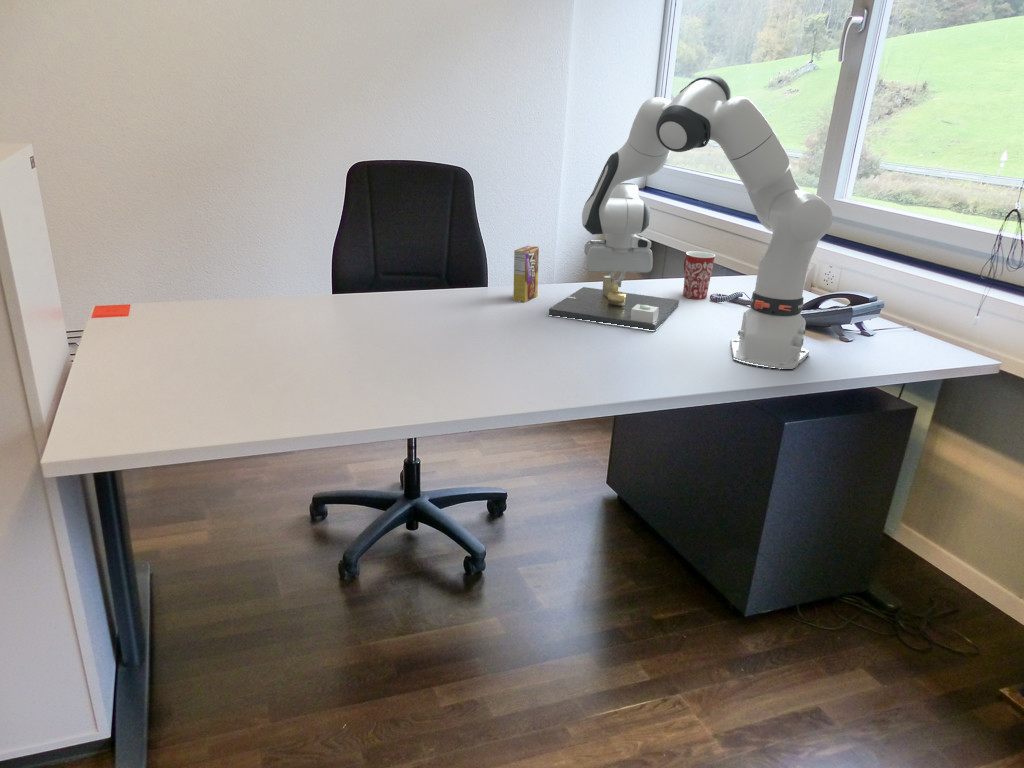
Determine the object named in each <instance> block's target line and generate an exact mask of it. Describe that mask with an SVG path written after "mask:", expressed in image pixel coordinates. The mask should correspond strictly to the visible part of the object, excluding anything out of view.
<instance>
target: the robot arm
mask: <svg viewBox="0 0 1024 768" xmlns="http://www.w3.org/2000/svg"><path fill="white" fill-rule="evenodd" d="M631 125H632V126H631V128H630V131H629V135H628V138H627V140H626V141H625V143H624V144H623V145H622V147H620V148H619V149H618V150H617V151H616V152H613V153H612V154H610V156H609V157H608V159H607V161H606V163H604V166H603V168H602V170H601V172H600V174H599V176H598V178H597V181H596V183H595V185H594V187H593V190H592V192H591V194H590V195H589V197H588V199H587V200H586V202H585V204H584V206H583V208H582V213H581V222H582V226H583V228H584V229H585V231H587V232H588V233H589V234H591V235H592V236H593V235H604V239H590V240H589V241H587V242H586V243H585V244H584V254H585V255H584V258H583V259H584V260H583V264H582V265H583V266H582V267H583V269H584V270H585V271H586V272H587V273H608V276H610V278H611V279H612V280H613V281H614V282H616V283H617V284H618V288H621V287H622V282H623V280H624V279H625V278H626V274H627V273H650V272H651V271H652V269H653V262H654V259H653V252H652V250H651V249H650V248H651V247H652V241H651V240H650V239H648V238H646V237H643V236H642V235H638V234H642V233H643V232H644V231H645V230H646V229H647V228H648V227H649V224H650V215H651V207H650V206H649V204H648V203H647V202H646V201H645V200H643V199H641V197H640V195H639V194H640V193H639V186H638V185H637V184H636V183H631V182H630V183H629V182H626V181H630V180H634V179H639V178H644V177H648V176H651V175H653V174H656V173H657V172H659V171H661V169H663V168H664V167H665V165H666V163H667V162H668V161H669V158H670V155H671V152H675V153H684V152H688V151H690V150H693V149H698V148H699V149H700V148H704V147H706V146H707V145H708V144H709V142H710V140H711V141H714V142H716V143H717V144H718V146H720V148H721V149H722V151H723V152H724V154H725V157H726V158H727V159H728V161H729V163H730V164H731V166H732V168H733V169H734V171H735V172H736V174H737V176H738V178H739V179H740V181H741V182H742V184H743V186H744V188H745V189H746V191H747V193H748V196H749V199H750V201H751V204H752V206H753V208H754V211H755V215H756V217H757V219H758V221H759V222H760V223H761V225H762V226H763V227H764V228H765V229H766V230H767V231H769V232H772V236H771V239H770V242H769V245H768V246H767V249H766V252H765V253H764V254H763V256H762V257H761V258H760V260H759V262H758V268H757V275H756V281H755V287H754V290H753V292H752V295H751V297H750V305H749V306H750V308H749V309H747V310H745V311H744V312H743V315H742V320H741V326H740V329H739V330H738V333H737V334H738V336H739V338H731V339H730V341H729V344H730V343H731V346H730V349H731V348H732V352H731V355H732V354H733V358H735V359H738V360H741V361H745V362H749V363H753V364H758V365H764V366H768V367H775V368H781V369H782V368H783V369H793V368H795V367H796V366H797V365H798V364H799V363H800V364H801V363H803V361H805V359H807V358H806V357H807V356H808V355H810V351H809V350H808V349H806V348H804V347H803V345H804V341H805V339H804V336H805V334H806V324H807V322H806V321H807V320H805V318H804V317H803V316H802V314H801V312H802V311H803V306H804V299H805V298H804V296H803V294H804V289H805V284H806V279H807V278H806V277H807V273H808V270H809V269H808V268H809V264H810V262H811V260H812V257H813V255H814V252H815V250H816V248H817V246H818V244H819V242H820V240H821V239H822V238H823V237H824V236H826V234H827V233H828V232H829V230H830V228H831V226H832V223H833V212H832V209H831V207H830V206H829V205H828V203H827V202H825V200H824V199H823V198H822V197H821V196H818V195H817V194H815V193H810V192H807V191H804V190H803V189H802V188H801V187H799V185H798V183H797V182H796V180H795V177H794V175H793V172H792V169H791V159H790V157H789V155H788V153H787V150H785V148H784V146H783V145H782V143H781V141H780V139H779V138H778V136H777V134H776V132H775V131H774V129H773V128H772V126H771V124H770V123H769V121H768V120H767V119H766V117H765V116H764V114H763V113H762V112H761V111H760V110H759V109H758V107H757V105H755V104H754V103H753V102H752V101H751V99H749V98H748V97H745V96H735V97H732V92H731V88H730V86H729V84H728V82H727V81H726V80H725V78H723V77H721V76H719V75H716V74H703V75H702V76H699V77H697V78H695V79H694V80H692V81H691V82H689V84H687V85H686V86H685V87H684V88H682V89H681V90H680V91H679V93H678V94H677V95H676V96H675V97H674V98H673V99H667V98H664V97H661V96H658V97H657V96H655V97H651V98H649V99H646V100H645V101H644V102H643V103H642V104H641V106H640V108H639V109H638V111H637V114H636V115H635V117H634V120H633V122H632V124H631ZM616 273H619V275H620V276H619V277H618V278H617V279H615V277H614V276H616ZM808 357H809V356H808ZM733 358H732V359H733ZM800 364H799V365H800ZM799 365H798V366H799ZM798 366H797V367H798ZM797 367H796V368H797ZM796 368H795V369H796ZM793 370H794V369H793Z"/></svg>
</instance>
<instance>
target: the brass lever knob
mask: <svg viewBox="0 0 1024 768" xmlns="http://www.w3.org/2000/svg"><path fill="white" fill-rule="evenodd" d="M626 293H627V292H623V291H619V287H618V284H617V283H616V282H614V281H613V280H612V279H611V278H610V276H609V275H603V280H602V294H604V295H605V296H606V297H607V298H608V304H610V305H614V306H623V305H625V300H626Z"/></svg>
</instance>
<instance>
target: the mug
mask: <svg viewBox="0 0 1024 768" xmlns="http://www.w3.org/2000/svg"><path fill="white" fill-rule="evenodd" d="M715 258H716V254H714V253H711V252H705V251H698V250H696V251H695V250H693V251H687V252H685V258H684V262H683V272H684V280H683V290H682V291H683V293H682V294H683V297H685V298H687V299H694V300H705V299H706V298H708V297H707V296H708V292H709V285H710V282H711V278H712V277H711V276H712V272H713V268H714V261H715Z"/></svg>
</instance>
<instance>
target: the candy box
mask: <svg viewBox="0 0 1024 768" xmlns="http://www.w3.org/2000/svg"><path fill="white" fill-rule="evenodd" d="M539 249H540V248H539V246H535V245H525V246H523V247H520V248H517V249H514V253H513V254H514V255H513V258H514V259H513V294H512V295H513V297H512V298H513V301H514V300H515V301H514V302H519V301H521V302H520V303H527V302H529V301H530V300H533V299H535V298H536V297H538V295H539V294H538V291H539V290H538V288H539V252H540V251H539Z"/></svg>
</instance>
